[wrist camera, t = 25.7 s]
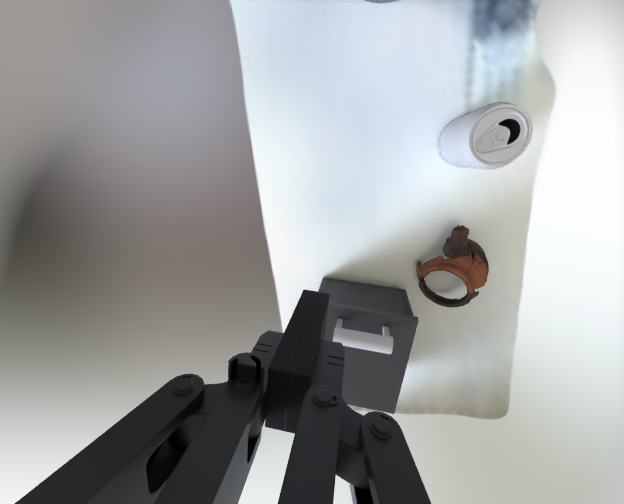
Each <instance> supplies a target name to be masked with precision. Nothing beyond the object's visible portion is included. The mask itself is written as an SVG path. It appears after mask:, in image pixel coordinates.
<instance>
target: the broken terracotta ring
mask: <svg viewBox="0 0 624 504" xmlns="http://www.w3.org/2000/svg"><path fill="white" fill-rule="evenodd" d="M468 234H469V229H468V228H466V227H465V226H457V227H455V228H454V229H453V231H452V233H451V237H449V238H448V239H447V240H446V243H445V245H444V247H443V251H444V254H445V255H446V256H447V257H450V258H448V259H445V260H444V259H443V257H442V256H439V257H436V258H434V259H431V260H429V261H427V262H426V263H424V264H423V265H422V266H421V261H418V264H417V275H418V279H419V281H420V282H419V287H420V289H421V291H422V292H423V294H424V295H425V296H426V297H427V298H428V299H430V300H432V301H433V302H435V303H436V304H439V305H441V306H445V307H460V306H463V305H466V304H468V303H469V301H470V300H471V299H473V298H474V297H476V296H477V295H478V294H479V292H478V291H477V292H475V291H474V289H478V288H480V287H482V286H484V285H485V282H486V281H487V275H488V271H489V270H488V269H489V267H488V261H487V259H486V256H485V253H484V251H483V249H482V248H481V247H480V246H479V245H478V244H477V243H476V242H474V241H472V240H470V239H467V237H468ZM469 252H471V255H472V257H471V256H470V255H469ZM442 270H443V271H444V270H445V271H448V272H451V273H453V274H455V275H457V276H458V277H459V278H461V279H462V280H463V281H464V283H465V284H466V287H467V294H466V296H465V297H463V298H461V299H447V298H444V297H442V296H439V295H436V294H435V293H434V292H433V291H431V290H430V289H429V288H428V287H427V286H426V284H425V280H424V277H426V275H427V274H429V273H430V272H433V271H442Z"/></svg>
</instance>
